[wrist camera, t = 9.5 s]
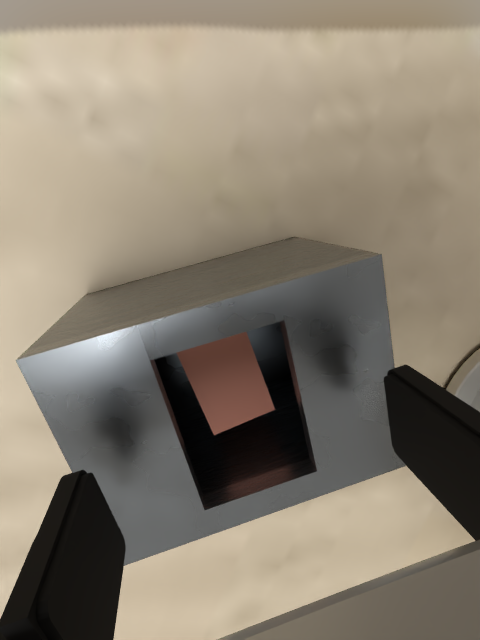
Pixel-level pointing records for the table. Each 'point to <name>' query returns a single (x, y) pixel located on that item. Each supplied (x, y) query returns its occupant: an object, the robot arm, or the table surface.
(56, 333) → the box
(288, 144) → the table surface
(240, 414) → the block
